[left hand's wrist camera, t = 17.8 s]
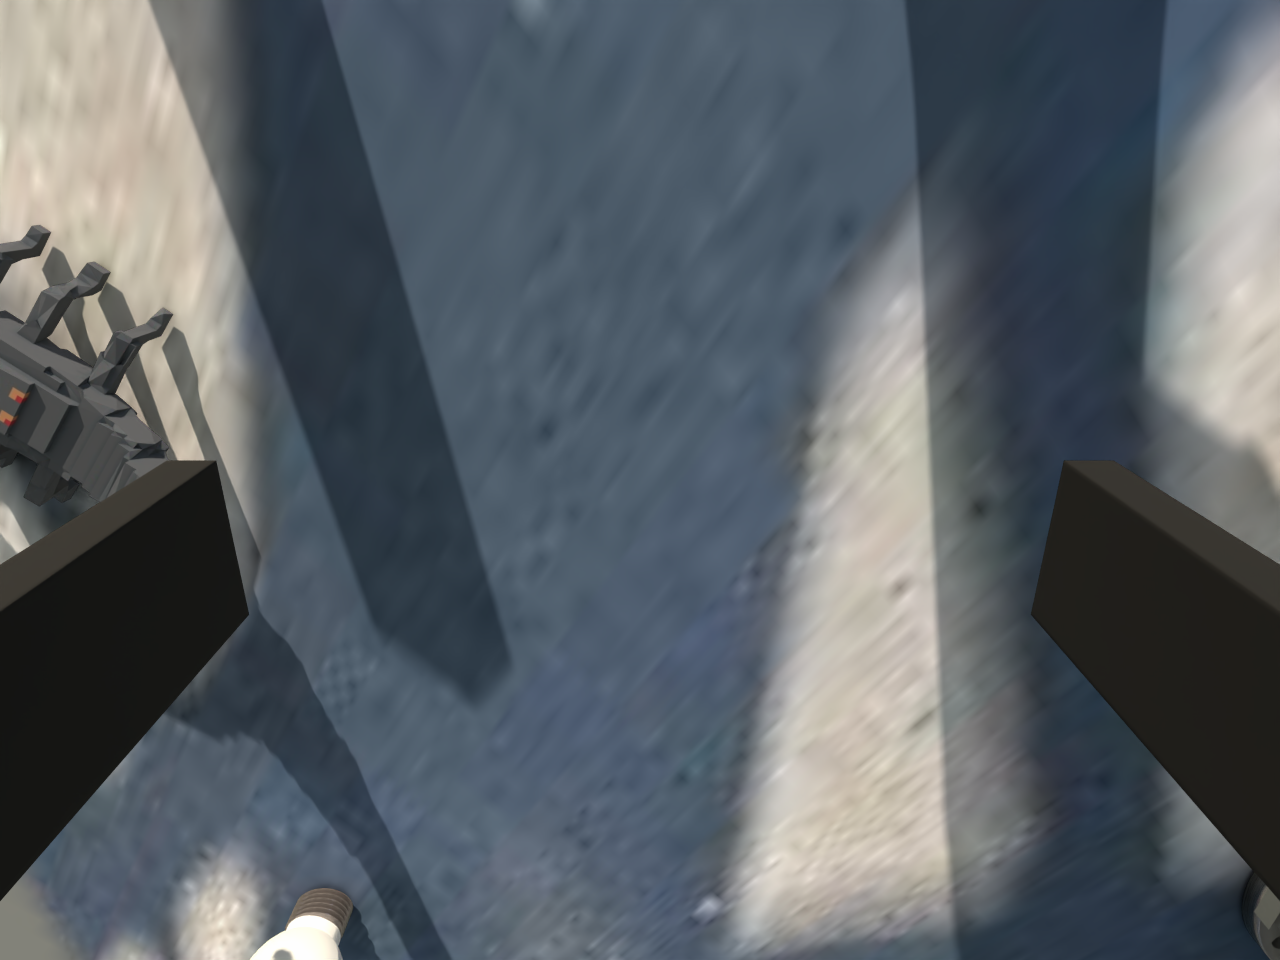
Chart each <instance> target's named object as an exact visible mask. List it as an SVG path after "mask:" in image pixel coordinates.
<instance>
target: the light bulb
mask: <svg viewBox="0 0 1280 960" xmlns="http://www.w3.org/2000/svg"><path fill="white" fill-rule="evenodd" d="M352 910H353V904H352V901H351V900H350V899H349V897H348V896H347V895H345V894H344V893H342V892H340V891H337V890H334V889H327V888H321V889H314V890H311V891H309V892H306V893H305V894H303V895H302V896H301V897H300V898H299V900H298V901H297V903H296V905H295V908H294V910H293V912H292V914H291V916H290V919H289V920H288V923H287V925H286V927H285V931H284V932H281V933H280V934H278V935H276V936H275V937H273V938H272V939H270V940H269V941H267V942H266V943H265V944H264V945H263V946H262V947H261V948H260V949H258V951H257V952H256V953H255V954H254V955H253V956H252V958H251V959H250V960H343V959H342V956H341V952H340V950H339V947H338V945H339V943H340V940H341V938H342V937H343V933H344V931H345V928H346V926H347V923H348V921H349V918H350V916H351V913H352Z"/></svg>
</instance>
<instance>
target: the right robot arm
mask: <svg viewBox="0 0 1280 960" xmlns="http://www.w3.org/2000/svg"><path fill="white" fill-rule="evenodd" d="M1242 916H1243V920H1244V923H1245V926H1246V928H1247V930H1248V932H1249V933H1250V935H1251V936H1252V937H1253V939H1254V940H1255V941H1256V942H1257V944H1258V945H1259V946H1260V947H1261V949H1262V950H1263V951H1264V952H1265V954H1266V955H1267V956H1268V957H1269V959H1270V960H1280V901H1279V900H1278V899H1277V897H1276V896H1275V895H1274V894H1273V893H1272V892H1271V890H1270V889H1269V888H1268V887H1267V886H1266V885H1265V884H1264V882H1263V881H1262V880H1261V879H1260V878H1259V877H1258V875H1257V874H1256V873H1255V872H1254V873H1253V875H1252V876H1251V878H1250V880H1249V882H1248V884H1247V886H1246V889H1245V892H1244V896H1243V901H1242Z"/></svg>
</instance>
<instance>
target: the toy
mask: <svg viewBox="0 0 1280 960" xmlns="http://www.w3.org/2000/svg"><path fill="white" fill-rule="evenodd" d="M50 234H51V232H50V231H48V230H47V229H45V228H44V227H42V226H41V225H35V226H31V228H30V229H29V231H28V233H27V234H26V236H25V237H24V238H23V239H22V240H21V241H16V242H10V243H3V244H0V283H1V282H2V280H3V278H4V276H5V275H6V273H7V271H8V270H9V268H10V266H11V264H13V263H15V262H18V261H20V260H22V259H26V258H31V257H36V256H40V255H41V252H42V250H43V248H44V246H45V244H46V242H47V240H48V238H49V236H50ZM110 273H111V272H109V271H108V270H106V269H105V268H103V267H102V266H101V265H99V264H98V263H96V262H89V263H87V264H86V265H85V267H84V268H83V269H82V271H81V272H80V273H79V275H78V276H77V278H75V279H73V280H71V281H70V282H68V283H64V284H59V285H55V286H52V287H50V288H48V289H46V290H44V291H42V292H41V294H40V295H39V297H38V299H37V301H36V303H35V305H34V307H33V309H32V311H31V313H30V315H29V317H28V318H27V320H26V322H25V323H24V322H23V321H21V320H20V319H18V318H16V317H15V316H13V315H12V314H10V313H9V312H7V311H0V467H1V468H3V467H5V466H7V465H10V464H12V463H13V461H14V459H15V457H16V455H17V453H18V452H19V453H20V454H22V455H24V456H25V457H27V458H29V459H31V460H32V461H34V462H36V463H38V466H37V468H36V470H35V472H34V474H33V477H32V479H31V481H30V483H29V485H28V488H27V490H26V492H25V495H24V498H26V499H28V500H29V501H31V502H33V503H34V504H36V505H38V506H41V505H42V504H44V503H45V502H47V501H48V500H50V499H51V498H53V497H54V498H56V499H57V500H59V501H60V502H61V503H63V502H65V501H67V500H69V499H71V497H72V495H73V494H74V492H75V490H76V488H77V486H78V485H79V483H77V482H75V481H74V480H77V481H79V482H80V483H81V484H82V488H84V489H85V490H87V491H88V492H89V493H90V494H89V496H90V497H92V498H94V499H95V500H97V501H99V502H101V501H103V500H104V499H106V498H108V497H109V496H111V495H112V494H114V493H116V492H117V491H119V490H120V489H122V488H124V487H125V486H127V485H128V484H130V483H132V482H133V481H135V480H136V479H138V478H140V477H141V476H143V475H144V474H146V473H148V472H149V471H151V470H152V469H154V468H156V467H157V466H159V465H160V464H162V463H164V462H165V461H170V460H169V459H168V458H167V456H166V451H167V450H168V448H169V446H168V445H167V444H166V443H165V442H164V441H163V440H162V438H160V437H159V436H158V435H157V434H156V433H154V432H153V431H152V430H151V429H150V428H149V427H148V426H146V425H145V424H144V423H143V422H142V421H141V420H140V419H139V418H138V417H137V416H136V415H137V412H136V411H135V410H134V409H133V408H132V407H130V406H129V405H128V404H127V403H126V402H125V401H123V400H122V399H121V398H120V397H119V396H118V395H116V394H115V393H116V391H117V389H118V386H119V384H120V382H121V380H122V378H123V376H124V374H125V372H126V369H127V368H128V367H129V365H130V364H131V362H132V361H133V359H134V357H135V356H136V354H137V353H138V351H139V350H140V348H141V346H142V345H143V344H144V343H146V342H147V341H149V340H152V339H154V338H157V337H160V336H161V335H162V333H163V332H164V330H165V328H166V326H167V324H168V323H169V321H170V319H171V317H172V315H173V314H172V313H171V312H169V311H168V310H166V309H165V308H162V309H161V310H159V311H158V312H157V313H156V314H155V315H154V316H153V317H152V318H150V320H149V321H148V322H147V323H146V324H144V325H141V326H138V327H135V328H132V329H129V330H127V331H124V332H123V331H122V330H120V331H117V332H114V333H113V335H112V337H111V339H110V342H109V344H108V346H107V348H106V350H105V351H103V352H100V354H99V357H98V359H97V361H96V363H95V366H94V368H93V367H92V366H90V365H89V364H87V363H86V362H84V361H83V360H81V359H80V358H78V357H77V356H75V355H74V354H73V353H71V352H70V351H68V350H66V349H60V348H59V347H57V346H56V345H55V344H54V343H53V342H51V341H50V340H49V339H48V338H47V337H48V336H50V335H51V334H52V333H53V331H54V329H55V328H56V326H57V324H58V323H59V321H60V319H61V318H62V316H63V314H64V313H65V311H66V309H67V308H68V306H69V305H70V303H71V302H72V300H73V299H76V298H80V297H85V296H90V295H94V294H96V293H97V292H99V291H101V290H102V288H103V286H104V284H105V282H106V280H107V278H108V276H109V275H110Z"/></svg>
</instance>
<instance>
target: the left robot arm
mask: <svg viewBox="0 0 1280 960" xmlns="http://www.w3.org/2000/svg"><path fill="white" fill-rule="evenodd" d="M248 615H249V612H248V607H247V603H246V598H245V593H244V589H243V584H242V579H241V575H240V570H239V565H238V561H237V556H236V551H235V547H234V542H233V537H232V533H231V528H230V523H229V519H228V514H227V509H226V505H225V500H224V495H223V491H222V486H221V481H220V477H219V472H218V467H217V463H216V461H165V462H164V463H162V464H160V465H159V466H157V467H156V468H154V469H152V470H151V471H149V472H148V473H146V474H144V475H143V476H141V477H140V478H138V479H136V480H135V481H133V482H132V483H130V484H128V485H127V486H125V487H124V488H122V489H120V490H119V491H117V492H116V493H114V494H112V495H111V496H109V497H108V498H106V499H104V500H103V501H101V502H100V503H98V504H96V505H95V506H93V507H92V508H90V509H88V510H87V511H85V512H84V513H82V514H80V515H79V516H77V517H76V518H74V519H73V520H71V521H69V522H68V523H66V524H65V525H63V526H61V527H60V528H58V529H57V530H55V531H53V532H52V533H50V534H49V535H47V536H45V537H44V538H42V539H41V540H39V541H37V542H36V543H34V544H33V545H31V546H29V547H28V548H26V549H25V550H23V551H21V552H20V553H18V554H17V555H15V556H13V557H12V558H10V559H9V560H7V561H5V562H4V563H2V564H1V565H0V901H1V900H2V899H3V897H4V896H5V895H6V894H7V893H8V892H9V890H10V889H11V888H12V887H13V886H14V885H15V884H16V882H17V881H18V880H19V879H20V878H21V877H22V875H23V874H24V873H25V872H26V871H27V870H28V869H29V867H30V866H31V865H32V864H33V863H34V862H35V861H36V859H37V858H38V857H39V856H40V855H41V854H42V852H43V851H44V850H45V849H46V848H47V847H48V846H49V844H50V843H51V842H52V841H53V840H54V839H55V837H56V836H57V835H58V834H59V833H60V832H61V831H62V829H63V828H64V827H65V826H66V825H67V824H68V822H69V821H70V820H71V819H72V818H73V817H74V816H75V814H76V813H77V812H78V811H79V810H80V809H81V808H82V806H83V805H84V804H85V803H86V802H87V801H88V799H89V798H90V797H91V796H92V795H93V794H94V793H95V791H96V790H97V789H98V788H99V787H100V786H101V784H102V783H103V782H104V781H105V780H106V779H107V778H108V776H109V775H110V774H111V773H112V772H113V771H114V770H115V768H116V767H117V766H118V765H119V764H120V763H121V761H122V760H123V759H124V758H125V757H126V756H127V755H128V753H129V752H130V751H131V750H132V749H133V748H134V746H135V745H136V744H137V743H138V742H139V741H140V740H141V738H142V737H143V736H144V735H145V734H146V733H147V731H148V730H149V729H150V728H151V727H152V726H153V725H154V723H155V722H156V721H157V720H158V719H159V718H160V717H161V715H162V714H163V713H164V712H165V711H166V710H167V708H168V707H169V706H170V705H171V704H172V703H173V702H174V700H175V699H176V698H177V697H178V696H179V695H180V693H181V692H182V691H183V690H184V689H185V688H186V687H187V685H188V684H189V683H190V682H191V681H192V680H193V679H194V677H195V676H196V675H197V674H198V673H199V672H200V670H201V669H202V668H203V667H204V666H205V665H206V664H207V662H208V661H209V660H210V659H211V658H212V657H213V655H214V654H215V653H216V652H217V651H218V650H219V649H220V647H221V646H222V645H223V644H224V643H225V642H226V640H227V639H228V638H229V637H230V636H231V635H232V634H233V632H234V631H235V630H236V629H237V628H238V627H239V626H240V624H241V623H242V622H243V621H244V620H245V619H246V617H247V616H248ZM1031 615H1032V616H1033V617H1034V619H1035V620H1036V621H1037V622H1038V623H1039V624H1040V626H1041V627H1042V628H1043V629H1044V630H1045V631H1046V632H1047V634H1048V635H1049V636H1050V637H1051V638H1052V639H1053V640H1054V642H1055V643H1056V644H1057V645H1058V646H1059V647H1060V649H1061V650H1062V651H1063V652H1064V653H1065V654H1066V655H1067V657H1068V658H1069V659H1070V660H1071V661H1072V662H1073V664H1074V665H1075V666H1076V667H1077V668H1078V669H1079V670H1080V672H1081V673H1082V674H1083V675H1084V676H1085V677H1086V679H1087V680H1088V681H1089V682H1090V683H1091V684H1092V685H1093V687H1094V688H1095V689H1096V690H1097V691H1098V692H1099V693H1100V695H1101V696H1102V697H1103V698H1104V699H1105V700H1106V702H1107V703H1108V704H1109V705H1110V706H1111V707H1112V708H1113V710H1114V711H1115V712H1116V713H1117V714H1118V715H1119V717H1120V718H1121V719H1122V720H1123V721H1124V722H1125V723H1126V725H1127V726H1128V727H1129V728H1130V729H1131V730H1132V731H1133V733H1134V734H1135V735H1136V736H1137V737H1138V738H1139V740H1140V741H1141V742H1142V743H1143V744H1144V745H1145V746H1146V748H1147V749H1148V750H1149V751H1150V752H1151V753H1152V755H1153V756H1154V757H1155V758H1156V759H1157V760H1158V761H1159V763H1160V764H1161V765H1162V766H1163V767H1164V768H1165V770H1166V771H1167V772H1168V773H1169V774H1170V775H1171V776H1172V778H1173V779H1174V780H1175V781H1176V782H1177V783H1178V784H1179V786H1180V787H1181V788H1182V789H1183V790H1184V791H1185V793H1186V794H1187V795H1188V796H1189V797H1190V798H1191V799H1192V801H1193V802H1194V803H1195V804H1196V805H1197V806H1198V808H1199V809H1200V810H1201V811H1202V812H1203V813H1204V814H1205V816H1206V817H1207V818H1208V819H1209V820H1210V821H1211V822H1212V824H1213V825H1214V826H1215V827H1216V828H1217V829H1218V831H1219V832H1220V833H1221V834H1222V835H1223V836H1224V837H1225V839H1226V840H1227V841H1228V842H1229V843H1230V844H1231V846H1232V847H1233V848H1234V849H1235V850H1236V851H1237V852H1238V854H1239V855H1240V856H1241V857H1242V858H1243V859H1244V861H1245V862H1246V863H1247V864H1248V865H1249V866H1250V867H1251V869H1252V870H1253V871H1254V872H1255V873H1256V874H1257V875H1258V877H1259V878H1260V879H1261V880H1262V881H1263V882H1264V884H1265V885H1266V886H1267V887H1268V888H1269V889H1270V890H1271V892H1272V893H1273V894H1274V895H1275V896H1276V897H1277V899H1278V900H1279V901H1280V565H1279V564H1278V563H1276V562H1275V561H1273V560H1271V559H1270V558H1268V557H1267V556H1265V555H1263V554H1262V553H1260V552H1259V551H1257V550H1255V549H1254V548H1252V547H1251V546H1249V545H1247V544H1246V543H1244V542H1243V541H1241V540H1239V539H1238V538H1236V537H1235V536H1233V535H1231V534H1230V533H1228V532H1227V531H1225V530H1223V529H1222V528H1220V527H1219V526H1217V525H1215V524H1214V523H1212V522H1211V521H1209V520H1207V519H1206V518H1204V517H1203V516H1201V515H1200V514H1198V513H1196V512H1195V511H1193V510H1192V509H1190V508H1188V507H1187V506H1185V505H1184V504H1182V503H1180V502H1179V501H1177V500H1176V499H1174V498H1172V497H1171V496H1169V495H1168V494H1166V493H1164V492H1163V491H1161V490H1160V489H1158V488H1156V487H1155V486H1153V485H1152V484H1150V483H1148V482H1147V481H1145V480H1144V479H1142V478H1140V477H1139V476H1137V475H1136V474H1134V473H1132V472H1131V471H1129V470H1128V469H1126V468H1124V467H1123V466H1121V465H1120V464H1118V463H1116V462H1115V461H1064V463H1063V467H1062V472H1061V477H1060V481H1059V486H1058V491H1057V495H1056V500H1055V505H1054V509H1053V514H1052V519H1051V523H1050V528H1049V533H1048V537H1047V542H1046V547H1045V551H1044V556H1043V561H1042V565H1041V570H1040V575H1039V579H1038V584H1037V589H1036V593H1035V598H1034V603H1033V607H1032V612H1031Z"/></svg>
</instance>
